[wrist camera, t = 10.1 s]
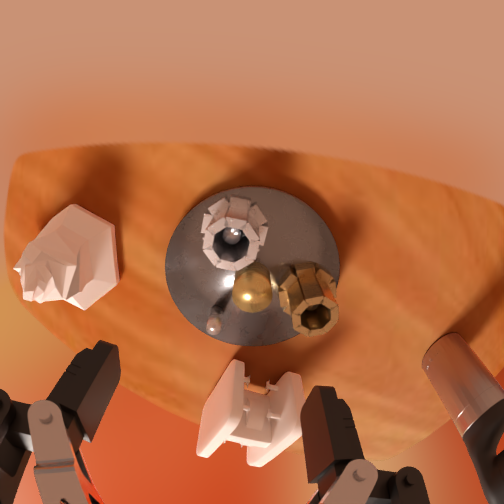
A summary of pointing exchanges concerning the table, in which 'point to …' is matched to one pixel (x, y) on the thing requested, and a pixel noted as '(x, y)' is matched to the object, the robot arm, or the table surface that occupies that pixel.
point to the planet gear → (239, 217)
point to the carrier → (247, 269)
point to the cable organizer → (252, 415)
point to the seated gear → (309, 298)
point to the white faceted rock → (70, 259)
